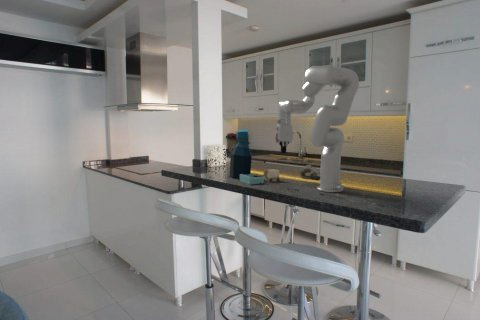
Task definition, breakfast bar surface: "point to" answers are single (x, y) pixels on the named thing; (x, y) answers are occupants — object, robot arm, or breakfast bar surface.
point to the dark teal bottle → (241, 156)
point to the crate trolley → (271, 175)
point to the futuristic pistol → (314, 173)
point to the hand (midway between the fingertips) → (283, 152)
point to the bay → (251, 179)
